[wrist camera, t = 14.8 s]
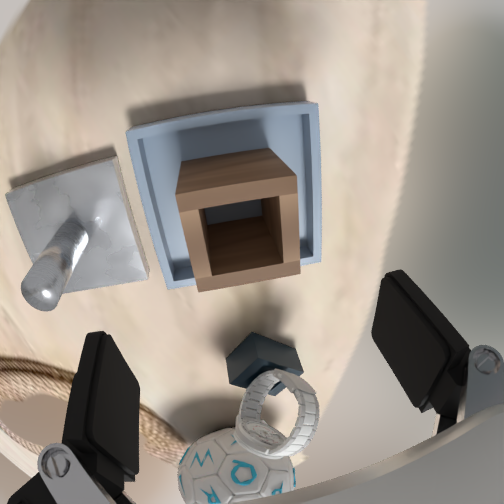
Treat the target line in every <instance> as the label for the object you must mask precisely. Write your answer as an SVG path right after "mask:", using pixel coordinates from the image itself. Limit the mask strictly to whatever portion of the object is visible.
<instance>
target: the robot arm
mask: <svg viewBox="0 0 504 504" xmlns="http://www.w3.org/2000/svg"><path fill="white" fill-rule="evenodd" d="M371 333H372V338H373V340H374V342H375V343H376V345H377V347H378V348H379V350H380V351H381V353H382V354H383V356H384V358H385V359H386V361H387V363H388V364H389V366H390V368H391V369H392V371H393V373H394V374H395V376H396V377H397V379H398V381H399V382H400V384H401V386H402V387H403V389H404V391H405V392H406V394H407V395H408V397H409V399H410V401H411V402H412V404H413V406H414V407H417V408H419V409H420V411H421V413H423V412H425V411H427V410H429V409H431V408H434V409H435V411H436V419H435V423H434V428H433V433H432V437H431V438H429V439H427V440H425V441H423V442H421V443H419V444H417V445H416V446H413V447H411V448H409V449H407V450H405V451H403V452H401V453H398V454H396V455H394V456H392V457H389V458H387V459H385V460H383V461H380V462H378V463H375V464H373V465H371V466H368V467H365V468H363V469H360V470H357V471H354V472H352V473H349V474H346V475H343V476H340V477H337V478H334V479H331V480H328V481H325V482H322V483H318V484H315V485H312V486H308V487H304V488H301V489H297V490H293V491H289V492H285V493H281V494H276V495H272V496H267V497H262V498H257V499H251V500H246V501H240V502H233V503H226V504H504V361H503V358H502V356H501V354H500V353H499V352H498V351H497V350H496V349H494V348H493V347H490V346H487V345H479V346H476V347H475V348H473V349H472V350H470V349H469V345H468V344H467V342H466V341H465V340H464V339H463V337H462V336H461V335H460V334H459V333H458V331H457V330H456V329H455V328H454V327H453V326H452V324H451V323H450V322H449V321H448V320H447V318H446V317H445V316H444V315H443V314H442V313H441V312H440V310H439V309H438V308H437V307H436V306H435V305H434V304H433V302H432V301H431V300H430V299H429V298H428V297H427V296H426V295H425V294H424V292H423V291H422V290H421V289H420V288H419V287H418V286H417V285H416V284H415V283H414V282H413V281H412V280H411V278H409V276H408V275H407V274H406V273H405V272H404V271H403V270H396V271H392V272H389V273H386V274H385V277H384V278H383V279H382V280H381V285H380V290H379V296H378V301H377V307H376V312H375V317H374V322H373V326H372V332H371ZM139 404H140V386H139V383H138V381H137V379H136V378H135V376H134V374H133V373H132V371H131V369H130V368H129V366H128V364H127V363H126V361H125V359H124V358H123V356H122V354H121V352H120V351H119V349H118V347H117V345H116V344H115V342H114V340H113V338H112V337H111V335H110V334H108V335H107V334H106V333H105V332H104V331H98V332H91V333H88V334H87V335H86V338H85V342H84V346H83V350H82V354H81V358H80V362H79V367H78V371H77V373H76V374H75V376H74V378H73V382H72V387H71V392H70V397H69V402H68V407H67V413H66V419H65V425H64V431H63V437H62V444H60V443H54V444H50V445H48V446H46V447H45V448H44V449H43V450H42V451H41V453H40V455H39V457H38V462H37V463H38V470H39V472H38V473H37V474H36V475H35V476H34V477H33V478H31V479H30V480H29V481H28V482H27V483H26V484H25V485H23V486H22V487H21V488H20V489H19V490H18V491H16V492H15V493H14V494H13V495H12V496H11V497H10V498H9V500H8V503H7V504H136V503H135V502H134V501H133V500H132V499H131V498H130V497H129V496H128V495H127V493H126V492H125V491H124V482H132V481H133V482H134V481H135V475H136V474H138V473H139Z"/></svg>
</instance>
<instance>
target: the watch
mask: <svg viewBox="0 0 504 504" xmlns="http://www.w3.org/2000/svg"><path fill="white" fill-rule="evenodd" d="M226 363H227V370H228V377H229V384H232V385H235V386H239V387H242V388H246V389H247V390H246V392H245V394H244V396H243V398H242V401H241V404H240V408H239V415H237V417H236V430H235V431H234V433H233V435H234V438H235V440H236V441H237V442H238V443H239V444H240V445H241V446H242V447H243V448H245V449H246V450H248V451H249V452H251V453H253V454H255V455H257V456H260V457H263V458H267V459H280V458H282V457H283V456H293V455H295V454H297V453H299V452H301V451H302V450H303V449H304V448H305V447H306V446H307V445H308V444H309V443H310V441H311V439H312V438H313V436H314V434H315V432H316V429H317V426H318V421H319V420H318V419H319V404H318V400H317V397H316V395H315V394H316V392H315V390H314V389H313V388H312V387H311V386H310V385H309V384H308V383H307V382H306V381H305V380H304V379H302V378H300V377H299V376H300V375H301V374H303V373H304V371H303V368H302V366H301V363H300V360H299V357H298V354H297V351H296V349H295V348H292V347H290V346H287V345H284V344H282V343H279V342H277V341H274V340H272V339H269V338H266V337H264V336H261V335H259V334H256V333H254V332H251V333H250V334H249V335H248V336H247V338H246V339H245V340H244V341H243V342H242V343H241V344H240V345H239V346H238V347H237V348H236V349H235V350H234V351H233V352H232V353H231V354H230V355H229V356H228V357H227V358H226ZM286 387H287V388H288V389H289V391H290V392H291V393H294V395H295V397H296V399H297V401H298V404H299V405H300V406H299V410H298V415H299V416H298V417H297V421H296V424H295V426H296V427H294V428H293V430H292V432H291V434H290V436H291V437H290V436H289V437H288V438H287V437H285V436H284V435H283V434H282V433H281V432H279V431H278V430H276V429H275V428H273V427H271V426H269V425H268V424H267V423H266V422H265V421H264V420H261V421H260V416H261V415H260V413H261V409H262V406H261V405H263V402H264V399H265V397H266V395H267V394H269V395H273V396H276V395H277V394H278V393H280V392H281V391H282V390H283V389H284V388H286ZM251 399H252V400H251ZM255 400H256V401H255ZM245 401H246V402H245ZM247 408H249V409H247ZM252 409H253V410H252ZM242 410H243V411H242ZM315 418H316V419H315ZM303 424H306V425H303Z"/></svg>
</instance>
